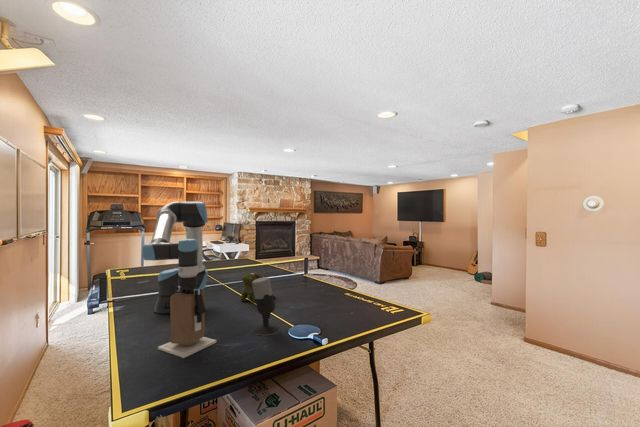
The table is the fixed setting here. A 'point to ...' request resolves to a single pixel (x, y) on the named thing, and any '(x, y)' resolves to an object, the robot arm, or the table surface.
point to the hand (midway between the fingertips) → (188, 327)
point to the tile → (186, 347)
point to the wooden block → (184, 319)
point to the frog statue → (249, 285)
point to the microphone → (264, 306)
